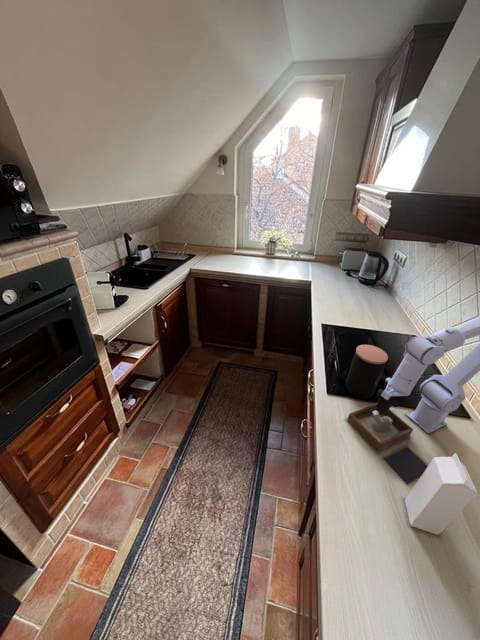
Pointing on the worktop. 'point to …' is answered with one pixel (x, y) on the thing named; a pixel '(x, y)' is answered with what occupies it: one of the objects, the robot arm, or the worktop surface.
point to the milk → (440, 494)
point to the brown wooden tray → (374, 443)
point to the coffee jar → (366, 370)
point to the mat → (406, 464)
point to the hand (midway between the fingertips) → (386, 408)
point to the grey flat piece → (382, 421)
